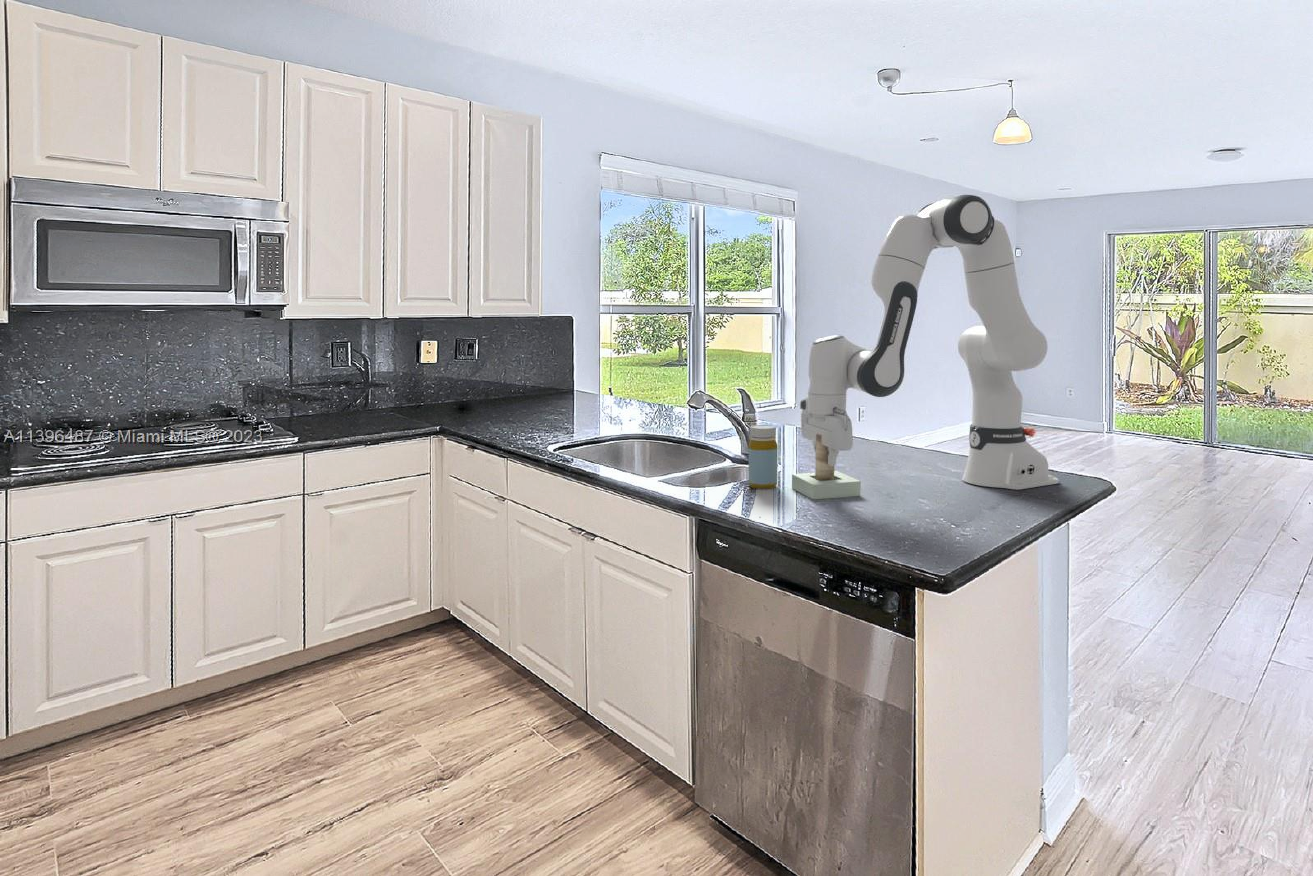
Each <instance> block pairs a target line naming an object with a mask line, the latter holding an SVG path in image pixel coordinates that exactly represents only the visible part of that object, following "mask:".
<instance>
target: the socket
mask: <svg viewBox="0 0 1313 876" xmlns="http://www.w3.org/2000/svg"><path fill="white" fill-rule="evenodd" d="M861 483H862V482H861V480H859V479H857V478H854V477H851V476H849V475H847V474H845V473H843V472H840V471H838V470H834V480H828V481H818V480H816V479H815V472H804V473H794V474H793V473H792V474H791V489H793V490H795V491H797V492H798V493H800V494H802V495H803V496H805V497H807V498H809V499H812V500H813V499H814V500H823V499H824V500H825V499H827V500H828V499H837V498H838V499H839V498H850V497H851V498H852V497H860V496H861V492H862V491H861V487H862V486H861V485H862V484H861Z"/></svg>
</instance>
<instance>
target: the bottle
mask: <svg viewBox="0 0 1313 876" xmlns="http://www.w3.org/2000/svg"><path fill="white" fill-rule="evenodd" d="M776 435H777V427H776V426H775V425H772V424H754V425H751V426H750V441H749V444H748V485H749V486H750V487H751V488H752V489H757V490H770V489H774V488H776V486H777V485H778V453H779V452H778V449H779V448H778V443H777V441H776V439H777V437H776Z"/></svg>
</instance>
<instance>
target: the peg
mask: <svg viewBox="0 0 1313 876" xmlns="http://www.w3.org/2000/svg"><path fill="white" fill-rule="evenodd" d="M821 440H822V436H821V435H818V434H816V459H815V468H814V469H815V472H814V473H815V479H816V480H818V481H828V480H834V471H835V466H829V465H827V464H826V458H828V455H829V451H828V447H827V446H824V445H822V442H821Z"/></svg>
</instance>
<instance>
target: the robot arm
mask: <svg viewBox="0 0 1313 876" xmlns="http://www.w3.org/2000/svg"><path fill="white" fill-rule="evenodd" d="M883 239H884V240H883V241H882V244H881V246H880V249H879V252H878V254H877V257H876V260H875V263H874V265H873V270H872V275H871V286H872V289H873V291H874V292H875V294H876V296H878V297H879V299H881V301H882V303H883V307H884V315H883V320H882V322H881V326H880V330H879V334H878V338H877V342H876V345H875V346H874V348H873V349H872V350H871V349H866V348H865V347H862V346H859V345H857V344H855V343H853V342H851V341H850V340H848V339H847V338H846V337H845V336H843V335H840V334H839V335H835V334H834V335H828V336H823V337H819V338H818V339H815V340H814V341H813V343H812V344H811V347H810V351H809V359H808V360H809V362H808V378H809V387H808V389H807V390H808V391H807V397H805V398H803V399H800V401H799V409H800V410H802V411H801V412H800V413H801V414H800V428H801V429H800V432H801V436H802V437H803V439H806V440H809V441H811V442H812V446H813V447H812V448H813V450H814V453H815V460H816V434H818V435H821V436H822V440H821V442H822V445H824V446H827V447H828V451H829V455H828V458H826V464H827V465H829V466H834V467H835V466H836V465H837V457H838V455H839V452H842V451H851V450H852V449H853V448H852V447H853V443H854V441H853V439H854V438H853V436H854V435H853V425H852V424H853V423H852V420H851V418H850V417H849V415H848V412H847V392H848V389H854V390H857V391H860V392H864V393H866V394H868V395H870V396H873V397H876V398H885V397H888V396H890V395H892V394H893V393H895V392H896V391H897V390H898V389H900V387H901V385H902V384H903V381H904V377H905V355H906V348H907V343H908V340H909V336H910V332H911V328H912V326H913V321H914V317H915V314H916V309H917V304H918V296H919V295H918V293H919V289H920V285H921V282H922V278H923V275H924V271H925V269H926V266H927V263H928V259H929V256H930V255H931V253H932V252H933V250H934V249H940V248H941V249H942V248H944V249H946V248H953V247H956V249H958V251H959V252H960V254H961V258H962V263H963V273H964V277H965V278H964V279H965V280H964V281H965V285H966V292H967V298H968V303H969V305H970V307H971V308H972V309H973V310H974V311H975V312H976V314H977V315H978V317H979V318H980V320H981V323H980V324H977V325H974V326H971V327H969V328H967V329H966V330H964V331H963V332H962V334H961V335H960V336H959V339H958V342H957V350H958V354H959V356H960V357H961V358H962V360H963V361H964V363H965V365H966V368H967V370H968V371H967V372H968V376H969V380H970V382H971V390H972V414H971V415H972V419H971V424H970V426H969V435H968V436H969V438H968V439H969V451H968V457H967V462H966V466H965V469H964V472H963V475H962V478H961V479H962V481H963V482H965V483H968V484H971V485H976V486H981V487H987V488H988V487H989V488H1000V489H1008V490H1009V489H1010V490H1024V489H1031V488H1036V487H1037V488H1038V487H1044V486H1045V487H1046V486H1051V485H1056V484H1059V483H1060V482H1059V478H1058V477H1056V476H1053V475H1051V474H1049V473H1050V472H1049V463H1048V459H1047V457H1046V456H1045V455H1044V454H1043V453H1041V452H1040V451H1039V450H1038V449H1036V448H1035V447H1034V446H1033V445H1031V444H1030V443H1029V442H1028V441H1027V438H1026V436H1029V437H1030V438H1032V437H1035V435H1036V430H1035V428H1034V427H1033V428H1030V427H1026V428H1024V427H1023V426H1022V414H1023V413H1022V412H1023V411H1022V408H1023V395H1022V391H1021V390H1020V389H1019V388H1018V387H1017V385H1016V382H1015V379H1014V376H1013V372H1020V371H1026V370H1030V369H1034V368H1036V367H1038V366H1039V365H1041V364H1042V362H1044V359H1045V358H1046V356H1047V352H1048V349H1049V348H1048V346H1049V345H1048V341H1047V337H1046V336H1045V335H1044V333H1043V332H1042V331H1041V330H1039V328H1038V327H1037V326H1036V325H1035V324H1034V323H1033V321H1032V319H1031V318H1030V316H1029V314H1028V312H1027V309H1026V307H1025V306H1024V303H1023V300H1022V297H1021V294H1020V291H1019V290H1020V289H1019V284H1018V278H1017V271H1016V264H1015V257H1014V253H1013V247H1012V244H1011V241H1010V240H1011V239H1010V237H1009V233H1008V231H1007V229H1006V226H1005V225H1004V223H1002V221H1000V220H997V219H995V216H994V215H993V214H992V210H991V208H990V206H989V204H988V203H987V202H986V201H985V200H984V199H983V198H982V197H981V196H977V195H974V194H961V195H958V196H950V197H945V198H943V199H940V200H938V201H935V202H933V203H929V204H927V205H925V206H923V207H922V208H920V210H919V211H918V212H916V213H915V214H904V215H901V216H899V217H898V218H896V219H895V220H894V221H893V223H892V224H891V227H890V228H889V230H888V231H887V234H886V235H885V238H883Z"/></svg>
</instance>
